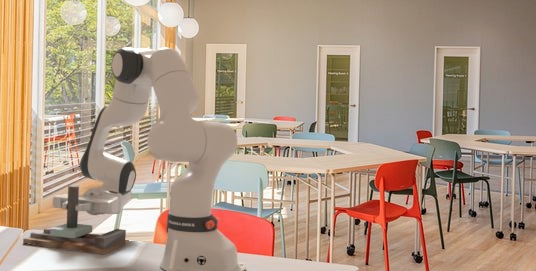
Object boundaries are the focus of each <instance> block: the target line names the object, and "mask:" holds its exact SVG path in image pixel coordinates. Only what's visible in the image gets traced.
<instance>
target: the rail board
mask: <svg viewBox="0 0 536 271" xmlns="http://www.w3.org/2000/svg"><path fill="white" fill-rule="evenodd" d="M126 231H127V230H126V229H120V228H116V229H113V230H111V231H108V232H105V233H102V234H97V233H89V234H86V235H83V236H80V237H77V238H75V239H74V238H67V237H59V236H51V235H50V228H47V227H46V228H43V231H42V232H34V231H32V232H30V236H27V237H24V238H23V241H22V243H30V244H35V245H34V246H36V245H39V246H38V247H45V248H53V249H60V250H67V251H68V250H69V251H75V252H80V253H81V252H83V253H89V254H96V255H105V254H108V253H110V252H112V251H115V250H117V249H119V248H121V247H124V246H125V245H126V235H127V234H126Z"/></svg>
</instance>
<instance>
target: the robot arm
mask: <svg viewBox="0 0 536 271" xmlns="http://www.w3.org/2000/svg"><path fill="white" fill-rule="evenodd" d="M112 56H113V57H112V60H111V72H112V75H113V77H114V78H115V79H116V80H115V83H114V88H113V91H112V92H113V93H112V97H111V100H110V102H109V103H108V105H106V106H103V107H102V109H101V110H100V111H99V113H98V115H97V117H96V120H95V124H94V126H93V129H92V130H91V135H90V137H89V140H88V144H87V146H86V149H85V151H84V153H83V155H82V157H81V159H80V161H79V169H80V171H81V173H82V176H83V177H85V179H86V178H87V179H89V180H90V179H91V180H94V181H97V182H100V183H103V184H101V185H98V186H93V187H90V188H88V189H86V190H85V191H84V192H83V194H79V200H78V205H76V206H75V207H76V209H75V210H76V211H78V212H86V213H87V214H89V215H91V216H99V215H106V214H108V215H119V214H121V212H122V208H123V207H124V206H125V205H126V204H128V203H129V202H130V201H131V198H132V189H133V187H134V184H135V182H136V178H137V171H136V167H135V165H134V163H133V162H132V161H130V160H128V159H125V158H122V157H118V156H116V155H113V154H111V153H108V152H106V150H105V146H106V142H107V140H108V137H109V134H110V131H111V129H112V128H113V127H120V126H121V127H123V126H124V127H125V126H131V125H134V124H136V123H139V122H140V121H141V120H142V119H143V118H144V117H145V115H146V113H147V110H148V105H149V99H150V92H151V88H153V91H154V95H155V97H156V100H157V103H158V107H159V117H158V120H157V122H155V123H154V124H153V125H152V126H151V127H150V130H149V131H148V134H147V138H146V139H147V147H148V150H149V152H150V154H151V156H153V158H154V159H156V160H158V161H159V160H161V161H165V162H169V163H188V164H187V167H186V169H185V170H184V172H183V173H182V174H181V175H180V176H178V177H176V178H175V179H174V180H173V182H172V183H171V186H170V192H169V195H170V196H169V208H168V209H169V210H168V211H169V212H167V216H166V217H167V218H166V243H165V247H164V252H163V256H162V259H161V262H160V265H159V266H160V268H161V269H162V270H164V271H244V269H245V270H246V263H244V262H243V261H239V258H238V250H237V247H236V245H235V244H234V243H233V242H232V241H231V240H230V239H229V238H228V237H227V236H225V234H223V233H222V232H221V231H220V230H218V224H219V222H220V217H217V218H216V217H215V216H214V215H213V214H212V205H213V194H214V187H215V184H216V181H217V178H218V175H219V172H220V171H221V169H222V167H223V166H224V164H225V163H226V162H227V161H228V160H229V159H230V158H231V157H232V156H234V154H235V152H236V151H237V148H238V137H237V133H236V132H235V131H236V130H235V129H234V128H233V126H231V125H229V124H226V123H223V122H219V121H216V120H215V121H213V120H212V121H210V120H197V119H193V117H192V114H193V113H194V112H195V111H196V110H197V108H198V107H199V103H200V95H199V93H198V89H197V87H196V84H195V82H194V79H193V76H192V75H191V72H190V70H189V67H188V66H187V64H186V62H185V61H184V59H183V57H182V55H181V54H180V53H179V51H177V50H176V49H174V48H172V47H160V48H158V49H153V48H143V47H139V48H137V47H136V48H135V47H134V48H133V47H130V46H129V47H123V48H118V49H117V50H116V52H114V54H113V55H112ZM67 204H68V193H64V194H56V195H54V196H53V197H52V207H53V208H54V209H55V208H56V209H62V210H67Z"/></svg>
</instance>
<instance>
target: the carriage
mask: <svg viewBox="0 0 536 271" xmlns="http://www.w3.org/2000/svg"><path fill="white" fill-rule="evenodd" d="M67 194H68V204H67V211H66V223H64V224H60V225H57V226H55V227H51V228H49V229H50V235H51V236H59V237H67V238H74V239H75V238H77V237H80V236H83V235H86V234H92V233H93V225H91V224H90V225H89V224H82V223H78V218H79V211H76V210H75V209H76V207H75V206H76V205H78V200H79V195H80V186H79V185H68V186H67Z"/></svg>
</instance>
